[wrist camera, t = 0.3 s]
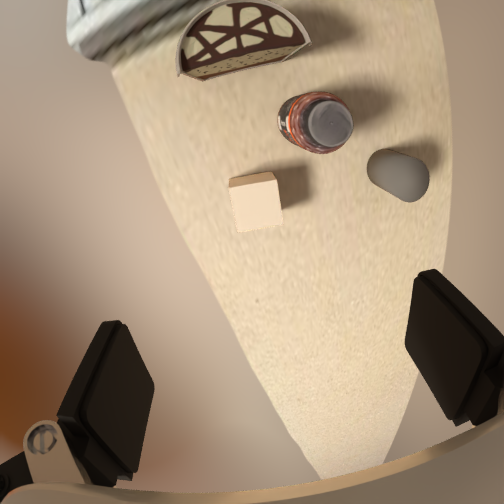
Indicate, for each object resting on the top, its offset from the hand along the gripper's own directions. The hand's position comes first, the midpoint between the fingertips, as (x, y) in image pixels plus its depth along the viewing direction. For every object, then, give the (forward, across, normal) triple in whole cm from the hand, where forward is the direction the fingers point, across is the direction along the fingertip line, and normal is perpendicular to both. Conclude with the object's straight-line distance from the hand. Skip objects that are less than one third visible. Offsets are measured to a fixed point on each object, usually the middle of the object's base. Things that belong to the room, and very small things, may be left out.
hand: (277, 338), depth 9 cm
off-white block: (+29, -1, +3) cm, 29 cm away
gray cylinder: (+29, -18, +1) cm, 34 cm away
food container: (+29, -1, -15) cm, 33 cm away
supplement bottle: (+29, -7, -5) cm, 31 cm away
